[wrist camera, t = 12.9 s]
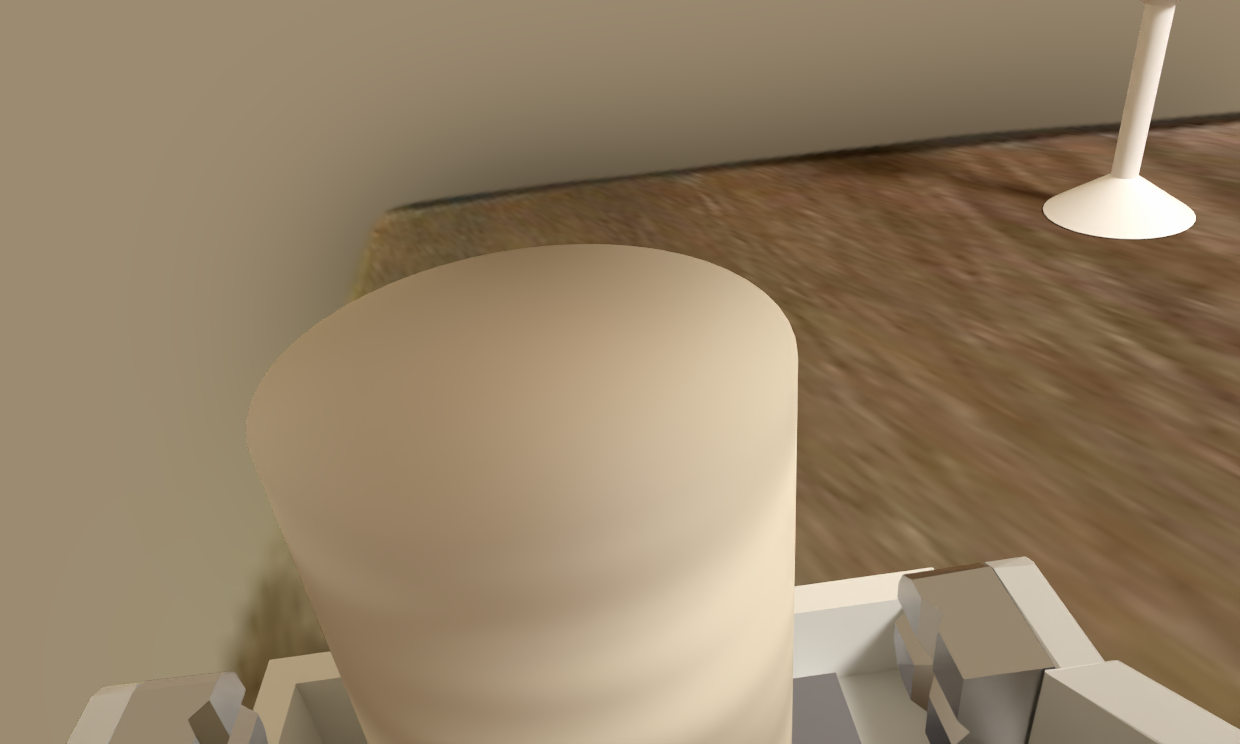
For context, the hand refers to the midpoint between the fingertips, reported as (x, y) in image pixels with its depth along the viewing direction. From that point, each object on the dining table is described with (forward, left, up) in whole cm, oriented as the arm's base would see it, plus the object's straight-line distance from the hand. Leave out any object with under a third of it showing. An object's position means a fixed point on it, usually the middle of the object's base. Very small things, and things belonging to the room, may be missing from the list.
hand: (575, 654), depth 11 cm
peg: (0, +1, -9) cm, 9 cm away
